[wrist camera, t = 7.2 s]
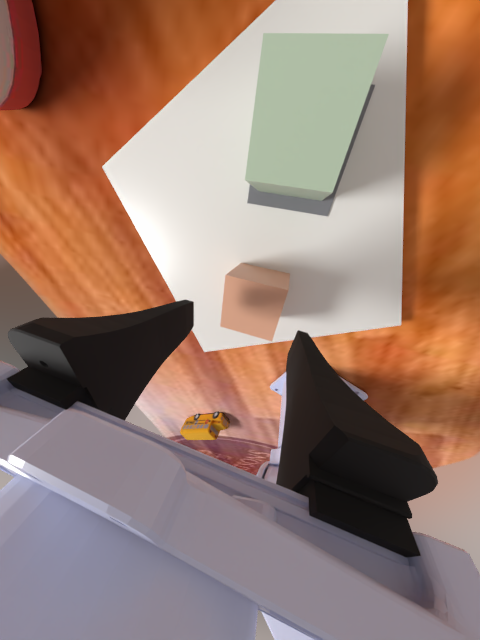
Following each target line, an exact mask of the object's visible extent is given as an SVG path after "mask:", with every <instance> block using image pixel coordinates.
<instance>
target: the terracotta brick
mask: <svg viewBox="0 0 480 640" xmlns="http://www.w3.org/2000/svg"><path fill="white" fill-rule="evenodd" d="M289 280H290V274H289V273H285V272H280V271H276V270H272V269H267V268H263V267H258V266H254V265H249V264H245V263H240V264H239V265H238V266H236V267H235V268H234V269H232V270H231V271H230V272H229V273H227V274H226V275H225V284H224V294H223V303H222V313H221V323H220V327H224V328H227V329H231V330H234V331H238V332H241V333H244V334H248V335H251V336H255V337H258V338H262V339H265V340H269V341H272V340H273V337H274V334H275V331H276V327H277V324H278V321H279V318H280V315H281V312H282V309H283V306H284V303H285V299H286V296H287V293H288V290H289Z"/></svg>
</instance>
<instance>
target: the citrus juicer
mask: <svg viewBox="0 0 480 640" xmlns="http://www.w3.org/2000/svg"><path fill="white" fill-rule="evenodd" d="M41 74H42V64H41V53H40V43H39V34H38V28H37V23H36V18H35V13H34V8H33V3H32V0H0V110H15V109H21V108H24V107H26V106H28V105H29V104H30V103H31V102H32V100H33V99H34V97H35V95H36V92H37V90H38V86H39V80H40V76H41Z"/></svg>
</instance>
